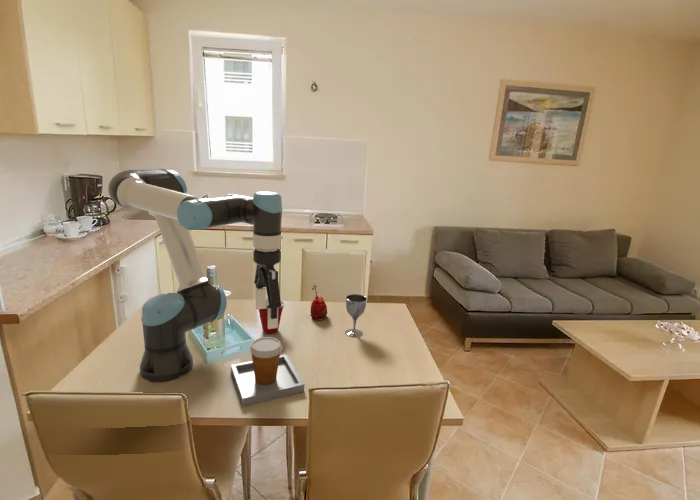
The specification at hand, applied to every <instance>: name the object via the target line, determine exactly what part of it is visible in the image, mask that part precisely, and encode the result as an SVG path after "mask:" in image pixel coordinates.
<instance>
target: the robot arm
mask: <svg viewBox="0 0 700 500" xmlns="http://www.w3.org/2000/svg"><path fill="white" fill-rule="evenodd" d="M107 190H108V195H109V198H110V199H111V200H112V202H113V203H114V204H116V205H118V206H119V207H122V208H125V209H128V210H143V211H145V212H147V213H148V214H149V216H152V217H154V218H155V220H156V224H157V226H158V229H159V232H160V235H161V237H162V240H163V243H164V246H165V248H166V252H167V254H168V256H169V260H170V262H171V266H172V268H173V271H174V273H175V276H176V279H177V282H178V284H179V285H178V287H177V289H176V292H168V293H161V294H158V295H157V294H156V295H155V296H153V297H150V298H149V299H148V300H147V301H145V302H144V304H143V306H142V307H141V319H140V320H141V322H142V323H141V324H142V331H143V343H144V350H143V354H142V358H141V361H140V364H139V371H140V376H141V378H143V379H144V380H146V381H149V382H153V383H155V382H156V383H157V382H158V383H161V382H163V383H164V382H170V381H174V380H176V379H179V378H181V377H184V376H186V375H187V374H189V372H191V370H192V368H193V367H194V357H193V354H192V353H191V350H190V348H189V346H188V343H187V335H186V334H187V333H189V332H190V331H192V330H194V329H197V328H199V327H201V326H204V325H207V324H209V323H212V322H215V321H216V320H217V319H219V318H221V317H222V316H223V315H224V314H225V313H226V310H227V306H228V302H227V295H226V292H225V291H224V289H223V288H222V287H221V286H220V285H219V284H215V287H213V286H211V285H210V284H208V278H209V277H208V278H207V276H206V273H205V271H204V268H203V265H202V262H201V259H200V257H199V254H198V251H197V249H196V246H195V242H194V240H193V237H192V235H191V232H190V231H195V230H196V231H202V230H205V229H209V228H215V227H220V226H221V227H222V226H226V225H234V224H239V223H244V224H249V225H252V226H253V229H252V231H253V233H252V237H253V238H252V239H253V240H252V246H253V252H252V253H253V260H252V261H253V262H254V263H255V264H256V269H255V274H254V282H253V283H254V284H255V288H256V289H255V292H256V293H255V294H256V296H255V307H256V308H255V309H256V310H259V309H265V300H266V299H268V302H269V306H267V309H268V329H273V328H278V308H281V301H280V300H281V294H280V293H281V292H280V285H279V271H278V270H276V268H275V265H277V264H279V263H280V262H281V259H282V252H281V251H282V249H281V245H282V240H283V235H282V219H283V218H282V217H283V216H282V215H283V204H282V196H281V194H280V193H278V192H274V191H256V192H255V193H253V197H252V196H247V195H243V194H240V193H228V194H225V195H224V196H219V197H210V198H208V197H207V198H203V197H200V196H199V197H198V196H195V195H193V194H192V195H191V194H188V193H187V192H188V186H187V183H186V181H185V179H184V178H183V176H182V175H181V174H179V172H178V171H175V170H173V169H165V168H158V169H157V168H156V169H127V170H122V171H121V172H117V174H114V175H113V177H112V178H111V180H110V181H109V183H108V188H107ZM266 295H267V298H266ZM278 329H279V328H278Z"/></svg>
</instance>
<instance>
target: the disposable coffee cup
mask: <svg viewBox="0 0 700 500" xmlns="http://www.w3.org/2000/svg"><path fill="white" fill-rule="evenodd" d="M281 343H282V342H281V341H280V340H279V339H278V338H276V337H270V336H264V337H263V336H262V337H260V338H257V339H254V340H253V341H252V342H251V344H250V346H249V351H250V354H251V359H252V360H251V361H253V367H254V374H255V381H256V382H257V383H258V384H260V385H269V384H272V383H274V382H275V381H276V376H277V370H278V363H279V357H280V355H281V352H282V350H283V345H282V344H281Z"/></svg>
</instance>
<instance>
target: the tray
mask: <svg viewBox="0 0 700 500" xmlns="http://www.w3.org/2000/svg"><path fill="white" fill-rule="evenodd" d="M230 372H231V376H232V378H233V381H234V384H235V387H236V390H237V393H238V397H239V399H240V402H241V405H242V407H246V406H250V405H254V404H258V403H262V402H266V401H272V400H275V399H279V398H283V397H288V396H291V395H295V394H296V395H297V394H299V393H300V392H301V393H304V392H305V383H304V381H303V379H302V378H301V377H300V374H299V372H298V371H297V369H296V368H295V367H294V365H293V364H292V362H291V359H290V358H289V357H288V355H287V354H285V353H284V354H280V357H279V363H278V370H277V376H276V381H275V382H274V383H272V384H269V385H260V384H258V383H257V382H256V381H255V374H254V367H253V361H252V360H250V361H249V360H248V361H244V362H239V363H233V364H230Z"/></svg>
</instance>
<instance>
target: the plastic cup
mask: <svg viewBox="0 0 700 500" xmlns="http://www.w3.org/2000/svg"><path fill="white" fill-rule="evenodd" d="M280 301H281V308H278V328H273V329H268V309H267V306H269V302H268V298H266V300H265V309H258V312H259V318H260V323H261V327H262V329H261V330H262V331H263V333H264V334H267V335H273V334H274V335H275V334H276V333H278V332H279V327H280V323H281V318H282V313H283V310H284V306H285V305H286V302H285V301H284V300H282V299H280Z"/></svg>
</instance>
